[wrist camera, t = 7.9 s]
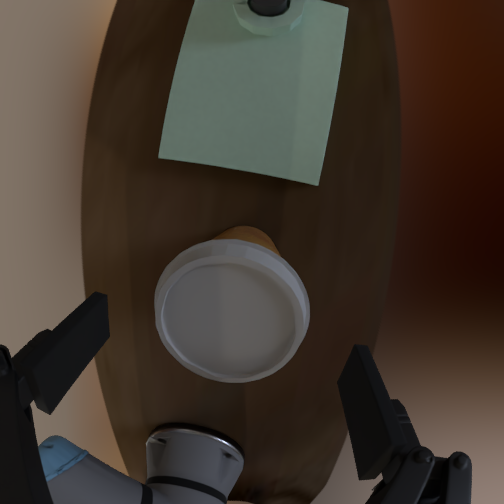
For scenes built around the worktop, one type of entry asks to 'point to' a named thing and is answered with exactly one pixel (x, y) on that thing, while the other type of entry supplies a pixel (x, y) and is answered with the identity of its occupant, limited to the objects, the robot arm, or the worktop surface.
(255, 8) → the button
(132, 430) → the worktop surface
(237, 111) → the scale
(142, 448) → the worktop surface
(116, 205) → the worktop surface
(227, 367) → the disposable coffee cup
